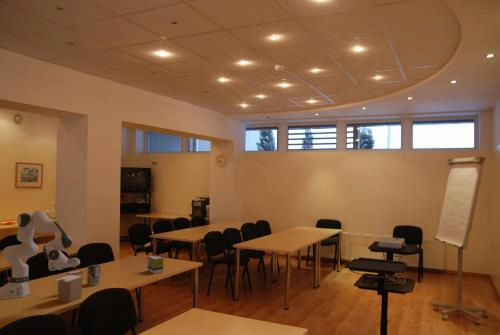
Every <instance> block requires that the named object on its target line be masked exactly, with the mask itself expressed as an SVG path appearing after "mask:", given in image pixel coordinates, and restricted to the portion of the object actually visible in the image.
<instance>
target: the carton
mask: <svg viewBox="0 0 500 335" xmlns="http://www.w3.org/2000/svg"><path fill="white" fill-rule="evenodd" d="M81 287H82V288H83V276H82V277H80V278H77V279H74V280H72V281H69V282H62V281H57V302H60V303H61V302H62V303H69V304H70V303H73V302H75V301H77V300H80V299H81V298H82V291H81Z"/></svg>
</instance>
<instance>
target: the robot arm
mask: <svg viewBox="0 0 500 335" xmlns="http://www.w3.org/2000/svg"><path fill="white" fill-rule="evenodd" d="M16 222H17V225H18V230H17V233H16V238H17V239H16V240H17V241H18V242H20V244H15V245H9V246H6V247H5V248H3V251H2V254H1V255H2V257H3V259H4V260H6V261H7V262H8V263H9V264H10V266H11V277H10V276H8V277H7V278H6V279H7V280H8V282H7V283H6V284H4V286H2V287H1V288H0V300H9V299H11V300H12V299H17V298H18V299H20V298H23V297H26V296H28V295H30V294H31V292H30V288H29V286H30V285H29V282H30V275H29V265H28V264H27V263H25V262H23V261H22V259H27V258H32V257H35V256H37V255H38V253H39V251H40V250H39V246H38V244H37V243H35V241H34V233H35V231H36V232H37V233H39V234H49V233H53V232H56V233H57V234H58V235H59V236H58V237H56V238H54V239H53V240H50V241H48V242H46V243H45V244H44V245H43V247H42V252H43V254H44V255H45V257H46V258H47V259H48V264H47V266H48V269H49V271H51V272H52V271H56V270H59V271H62V270H63V269H66V268H71V267H73V268H76V266H79V265H80V264H81V260H80V259H79V258H77V257H72V258H69V257H67V256H66V255H65V254H64V253H63V252H62V251H64V250H67V249H69V248H71V246H72V245H73V240H72V238H71V236H69V234H67V232H66V231H65V230H64V229H63V228H62V227H61V225H60V224H58V222H57V221H55V220H53V221H52V220H51V216H50V215H49V213H48V212H47V213H46V211H44V210H41V209H37V210H36V211H34V212H23V213H19V215H18V216H17V221H16Z"/></svg>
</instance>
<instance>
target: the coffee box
mask: <svg viewBox="0 0 500 335" xmlns="http://www.w3.org/2000/svg"><path fill="white" fill-rule="evenodd" d="M86 272H87V273H86V274H87V277H86V282H87V283H86V285H87V286H94V287H96V286H99V285H100V284H101V265H97V264H91V265H87V271H86Z"/></svg>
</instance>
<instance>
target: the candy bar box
mask: <svg viewBox="0 0 500 335" xmlns="http://www.w3.org/2000/svg"><path fill="white" fill-rule="evenodd" d="M68 275H75V276H82V277H83V271H82V270H74V271H69V272H66V276H68ZM82 291H83V286H82V287H81V292H82Z"/></svg>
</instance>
